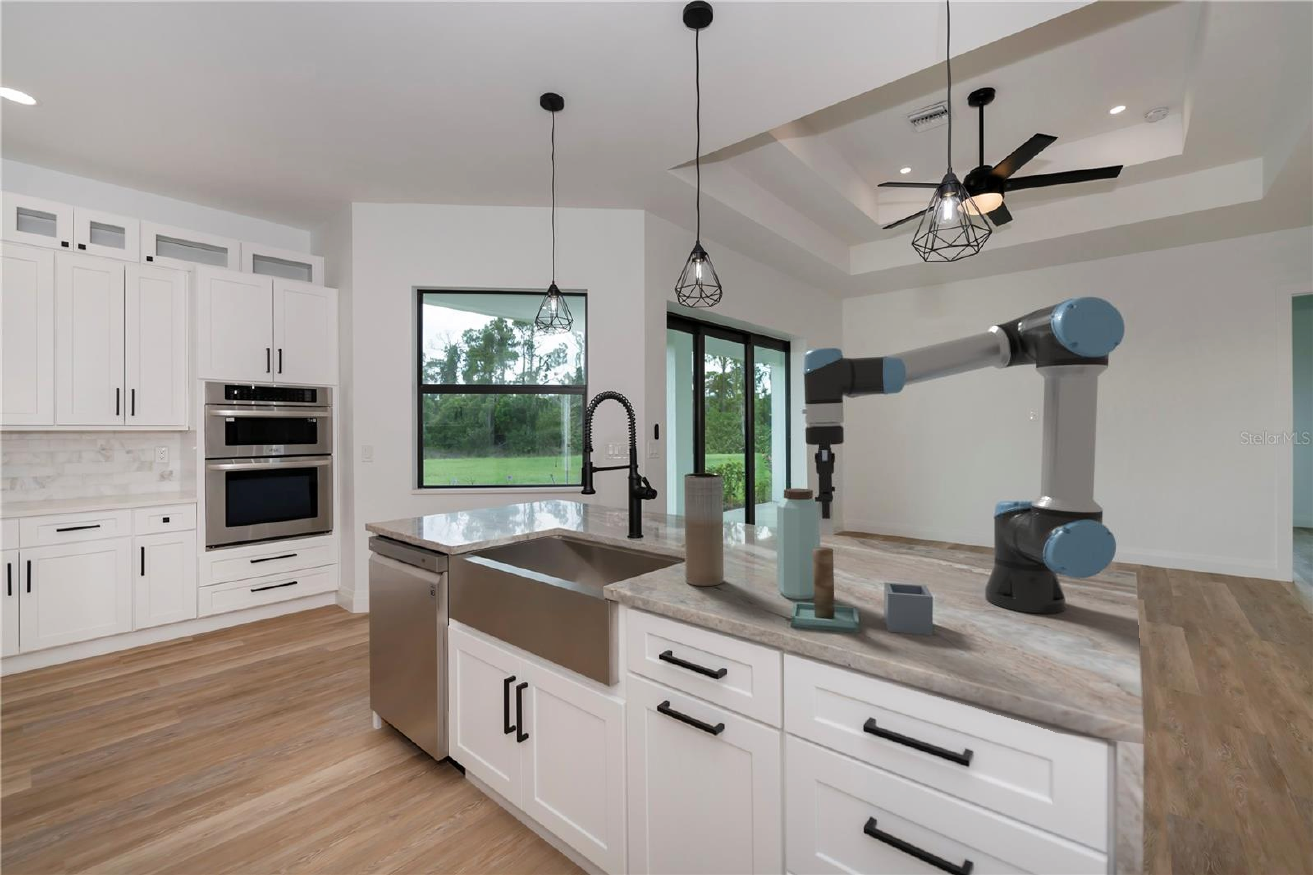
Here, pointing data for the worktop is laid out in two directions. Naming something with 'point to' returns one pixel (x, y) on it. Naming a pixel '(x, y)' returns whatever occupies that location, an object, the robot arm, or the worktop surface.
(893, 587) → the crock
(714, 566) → the vase
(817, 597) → the dowel
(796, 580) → the water bottle
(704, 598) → the worktop surface
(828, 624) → the tray
